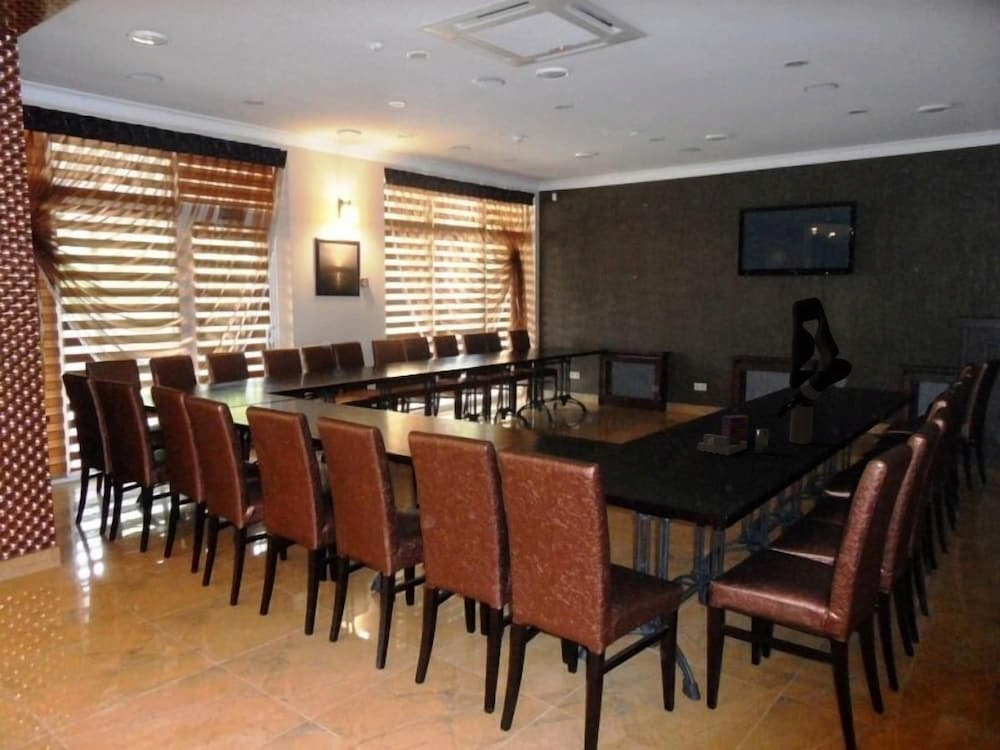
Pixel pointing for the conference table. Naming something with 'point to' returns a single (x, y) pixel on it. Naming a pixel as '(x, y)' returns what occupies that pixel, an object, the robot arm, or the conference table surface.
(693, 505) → the conference table surface
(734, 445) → the scale
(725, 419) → the box
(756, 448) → the spacer
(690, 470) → the conference table surface
